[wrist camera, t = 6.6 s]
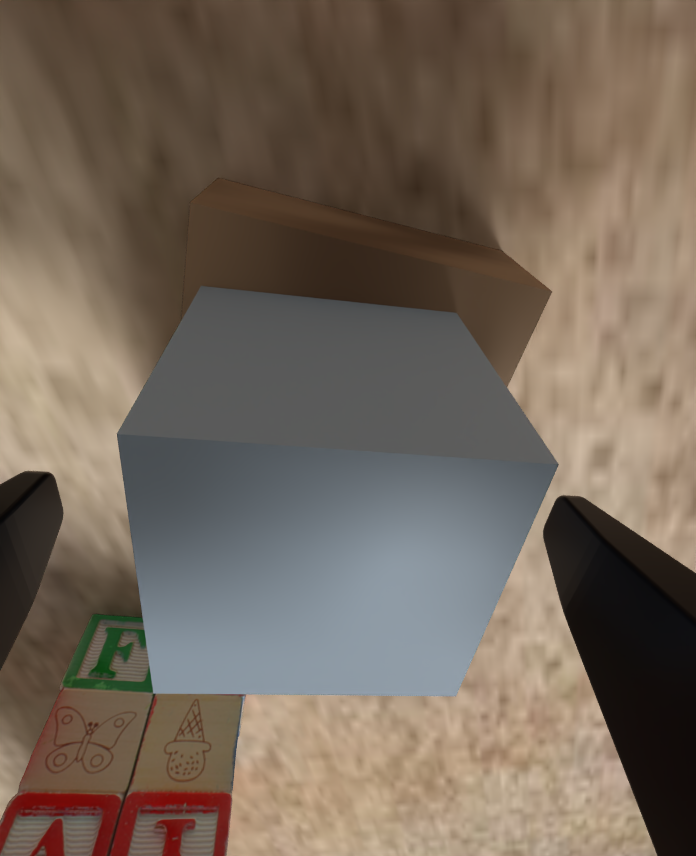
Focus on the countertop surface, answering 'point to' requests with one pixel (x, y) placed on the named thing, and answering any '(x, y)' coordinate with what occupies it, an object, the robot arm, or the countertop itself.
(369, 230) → the walnut slab
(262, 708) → the countertop surface
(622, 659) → the robot arm
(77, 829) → the stack of blocks
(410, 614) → the slate cube
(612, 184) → the countertop surface
